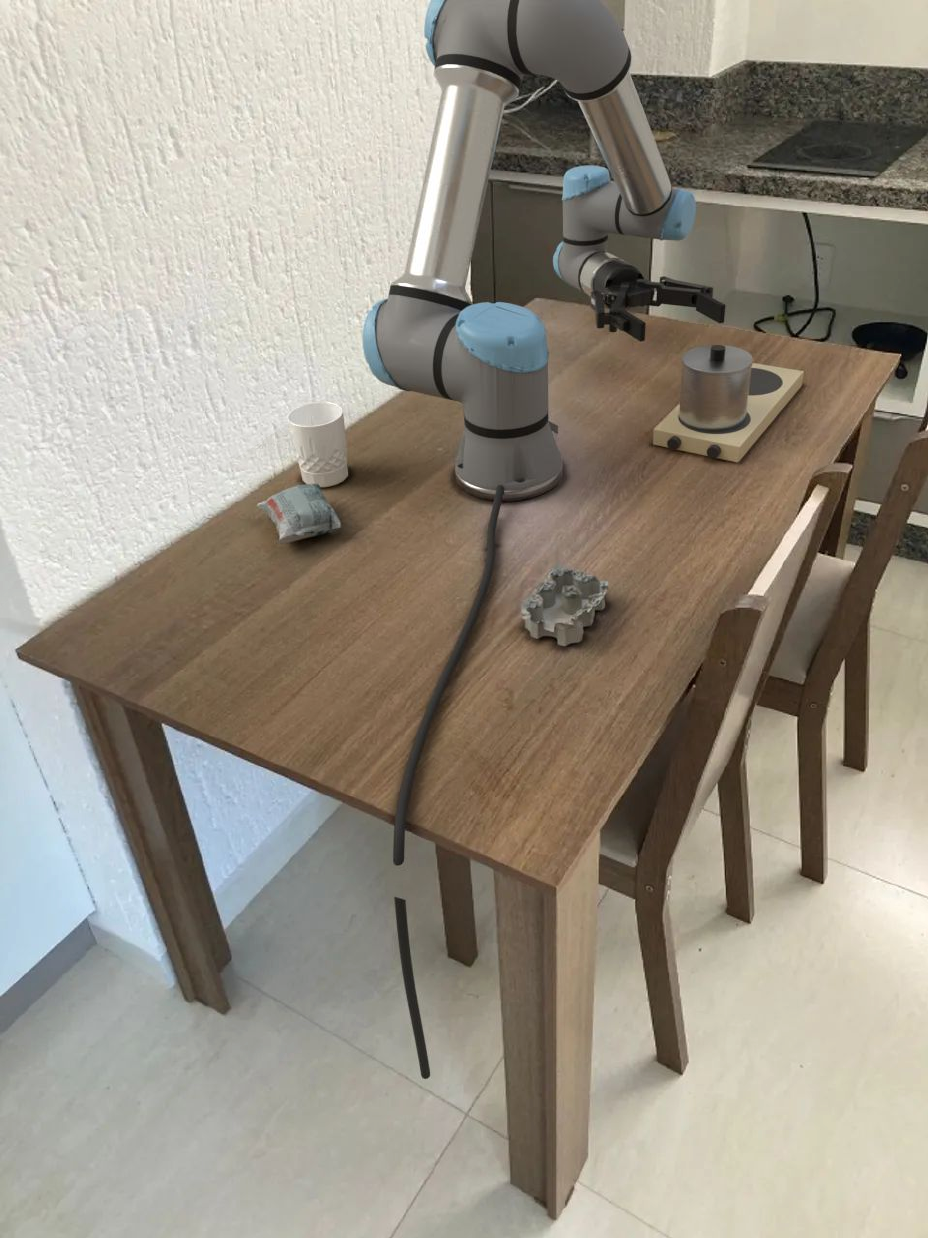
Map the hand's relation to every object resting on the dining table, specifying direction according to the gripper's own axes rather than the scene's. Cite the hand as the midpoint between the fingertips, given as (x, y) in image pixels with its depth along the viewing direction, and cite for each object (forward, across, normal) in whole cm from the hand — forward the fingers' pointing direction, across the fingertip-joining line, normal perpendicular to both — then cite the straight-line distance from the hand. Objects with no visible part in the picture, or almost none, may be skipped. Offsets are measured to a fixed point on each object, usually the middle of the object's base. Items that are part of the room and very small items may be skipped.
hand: (683, 323), depth 150 cm
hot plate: (+6, -6, -14) cm, 16 cm away
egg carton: (+40, +40, -14) cm, 58 cm away
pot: (+9, 0, -11) cm, 14 cm away
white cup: (-7, +55, -14) cm, 57 cm away
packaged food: (+6, +62, -14) cm, 64 cm away
